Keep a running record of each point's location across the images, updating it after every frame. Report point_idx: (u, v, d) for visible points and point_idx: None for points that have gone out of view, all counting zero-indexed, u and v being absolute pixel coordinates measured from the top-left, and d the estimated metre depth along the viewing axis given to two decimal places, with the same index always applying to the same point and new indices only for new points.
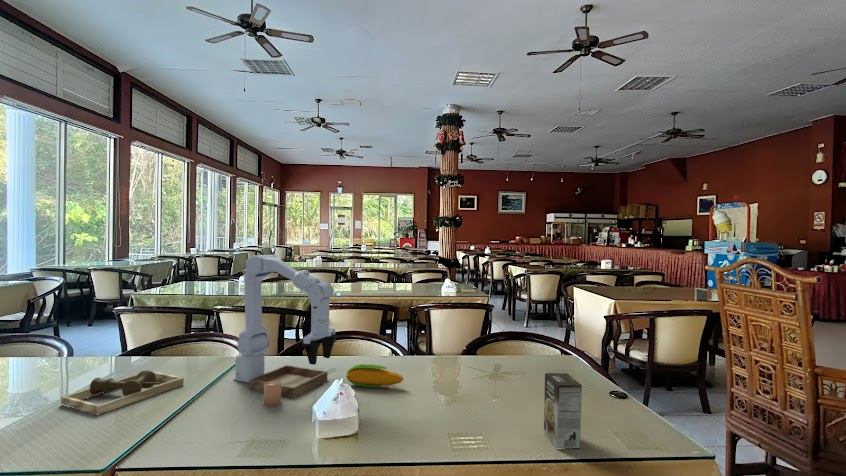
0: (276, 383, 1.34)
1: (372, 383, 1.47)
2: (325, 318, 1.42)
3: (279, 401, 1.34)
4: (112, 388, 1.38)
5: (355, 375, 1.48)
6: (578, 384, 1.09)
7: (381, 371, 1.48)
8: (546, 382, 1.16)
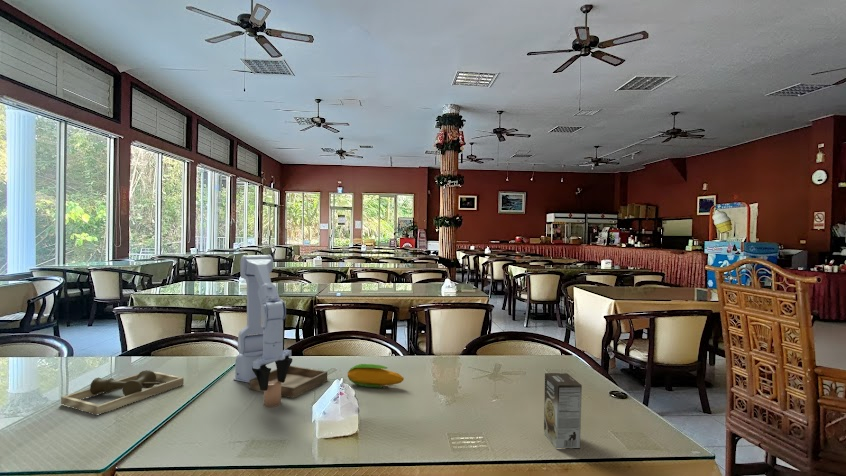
0: (276, 383, 1.34)
1: (372, 383, 1.48)
2: (272, 341, 1.31)
3: (279, 401, 1.34)
4: (112, 388, 1.38)
5: (356, 374, 1.49)
6: (578, 384, 1.09)
7: (381, 371, 1.48)
8: (546, 382, 1.16)
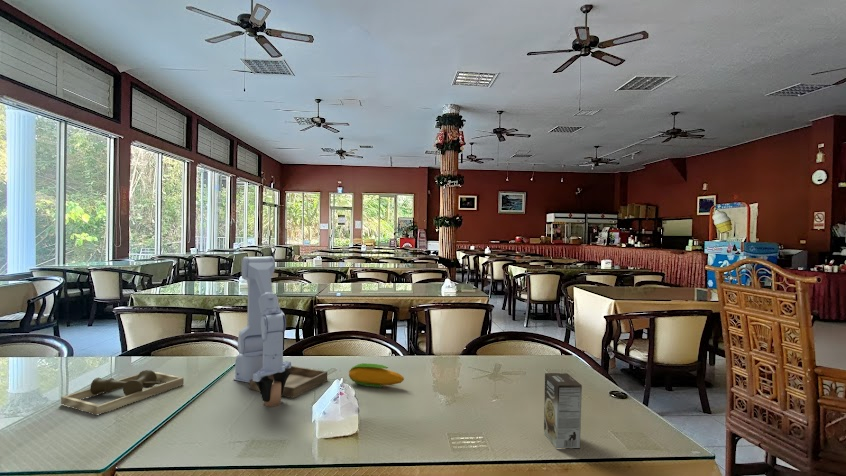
0: (276, 383, 1.34)
1: (373, 382, 1.48)
2: (272, 353, 1.31)
3: (279, 401, 1.34)
4: (113, 388, 1.38)
5: (356, 374, 1.49)
6: (578, 384, 1.09)
7: (382, 370, 1.49)
8: (546, 382, 1.16)
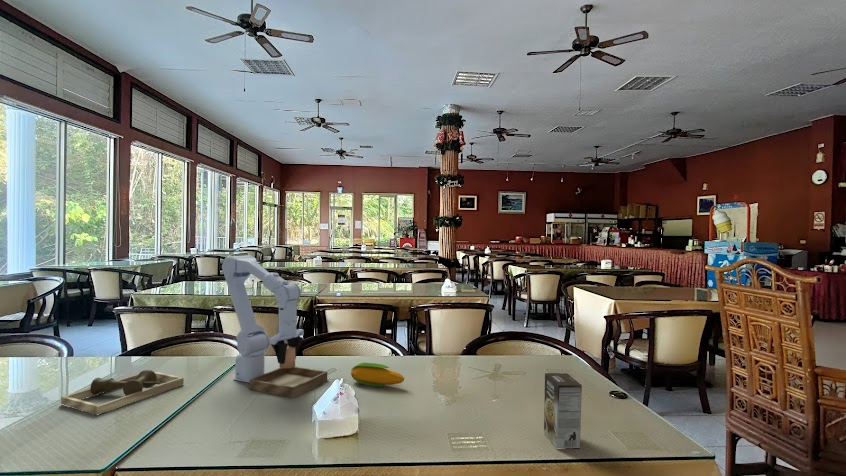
0: (290, 348, 1.48)
1: (373, 381, 1.49)
2: (291, 319, 1.45)
3: (293, 364, 1.47)
4: (113, 388, 1.38)
5: (358, 373, 1.50)
6: (578, 384, 1.09)
7: (383, 370, 1.49)
8: (546, 382, 1.16)
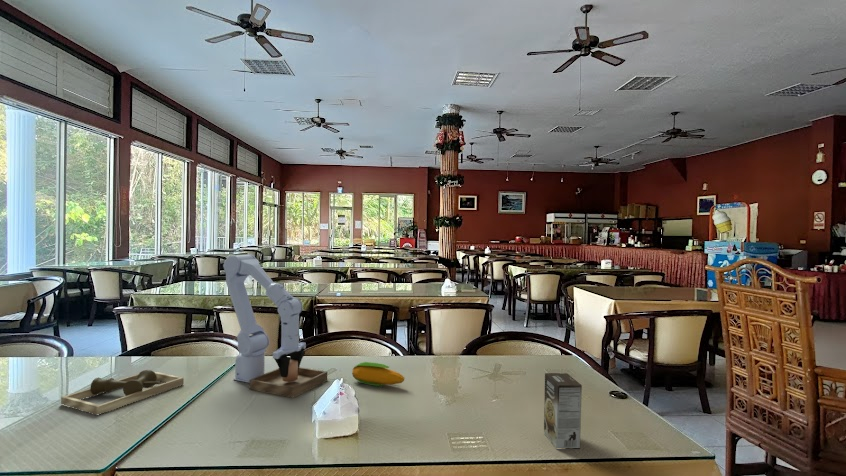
0: (293, 361, 1.50)
1: (374, 381, 1.49)
2: (295, 333, 1.48)
3: (296, 377, 1.50)
4: (113, 388, 1.38)
5: (358, 372, 1.51)
6: (578, 384, 1.09)
7: (383, 370, 1.49)
8: (546, 382, 1.15)
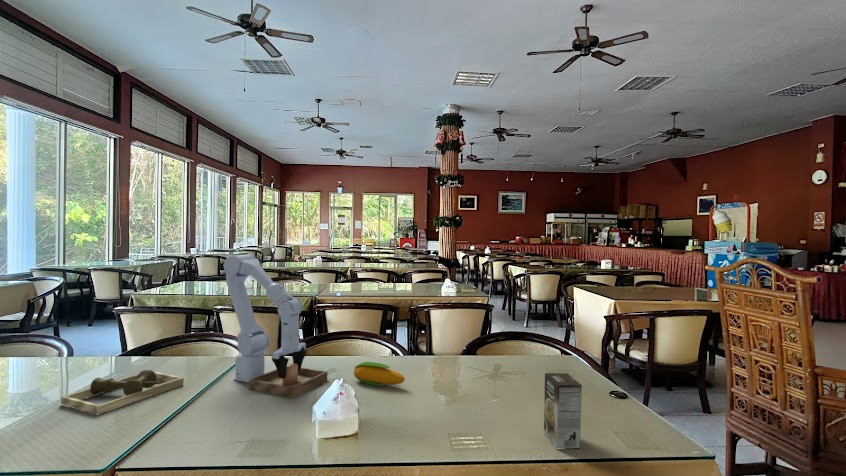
0: (293, 365, 1.50)
1: (374, 381, 1.49)
2: (295, 334, 1.48)
3: (296, 381, 1.50)
4: (113, 388, 1.38)
5: (360, 372, 1.52)
6: (578, 384, 1.09)
7: (384, 370, 1.50)
8: (546, 382, 1.16)
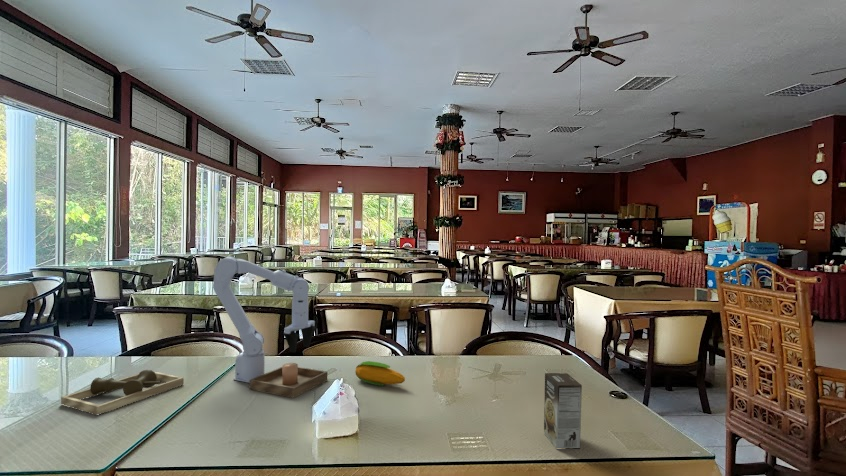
0: (293, 364, 1.51)
1: (375, 380, 1.50)
2: (307, 310, 1.59)
3: (296, 380, 1.50)
4: (113, 388, 1.38)
5: (361, 371, 1.52)
6: (578, 384, 1.09)
7: (384, 369, 1.50)
8: (546, 382, 1.16)
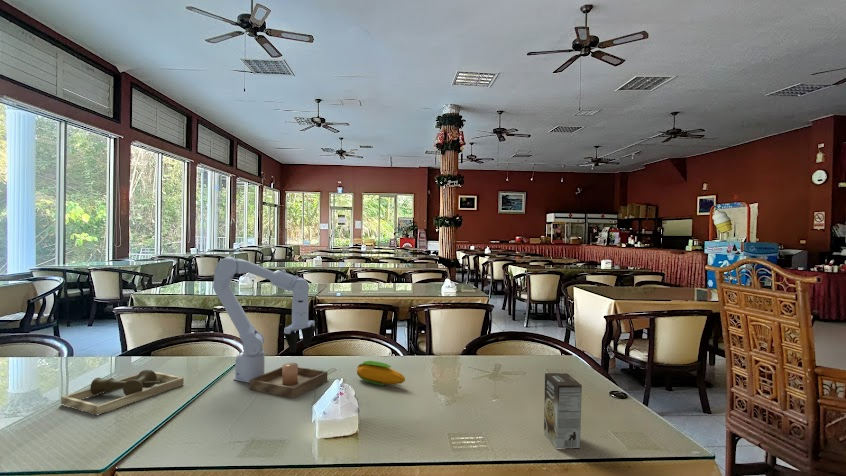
0: (293, 364, 1.51)
1: (376, 380, 1.50)
2: (307, 310, 1.59)
3: (296, 380, 1.50)
4: (113, 388, 1.38)
5: (362, 370, 1.53)
6: (578, 384, 1.09)
7: (385, 369, 1.50)
8: (546, 382, 1.16)
